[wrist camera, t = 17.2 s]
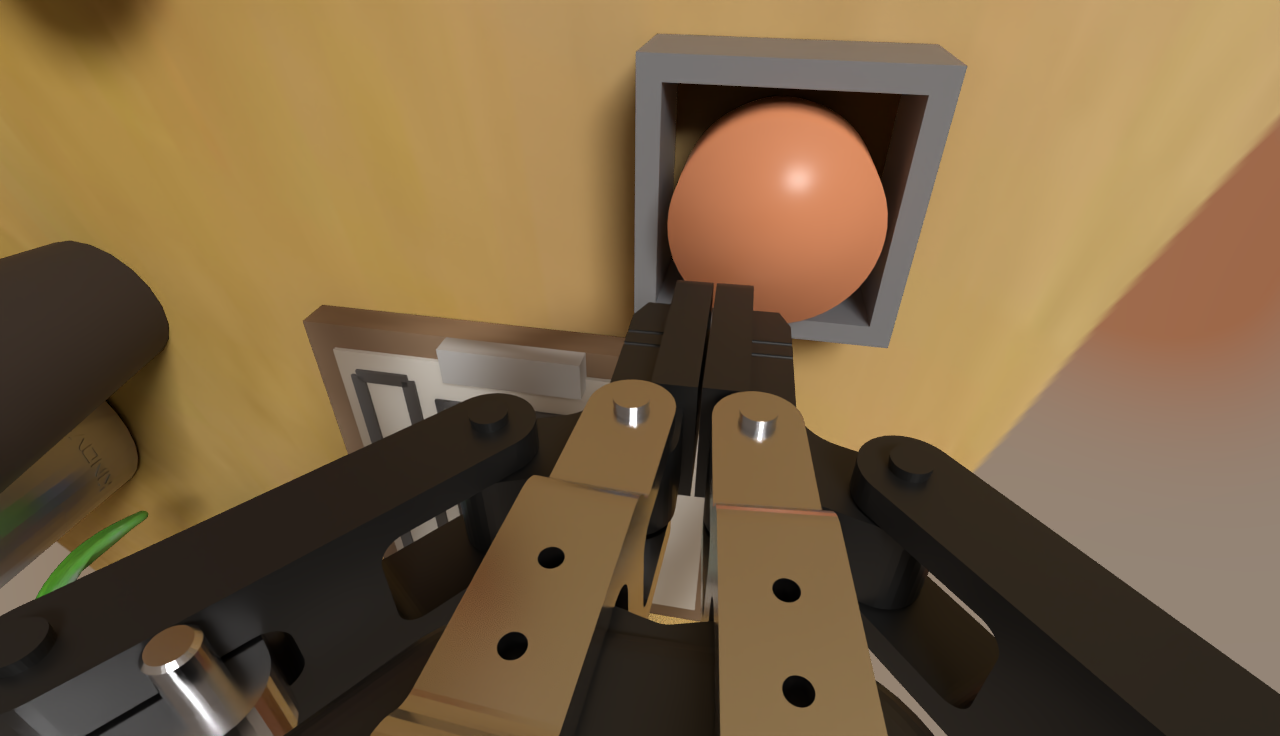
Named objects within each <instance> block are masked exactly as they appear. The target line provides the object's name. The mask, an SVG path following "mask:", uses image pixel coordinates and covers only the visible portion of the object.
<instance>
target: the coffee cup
mask: <svg viewBox="0 0 1280 736" xmlns="http://www.w3.org/2000/svg"><path fill="white" fill-rule="evenodd" d="M168 339H169V336H168V322H167V319H166V316H165V314H164V311H163V308H162V306H161V304H160V303H159V301H158V300H157V298H156V297H155V295H154V294H153V292H152V291H151V289H150V288H149V287H148V286H147V285H146V284H145V283H144V282H143V281H142V280H141V279H140V277H139V276H138V275H137V274H136V273H135V272H134V271H133V270H132V269H130V268H129V267H127V266H126V265H125V264H123V263H122V262H120V261H119V260H118V259H116V258H115V257H114V256H112V255H110V254H108V253H106V252H104V251H102V250H100V249H98V248H96V247H94V246H91V245H88V244H83V243H79V242H74V241H64V242H57V243H52V244H49V245H45V246H42V247H39V248H35V249H32V250H29V251H25V252H22V253H19V254H15V255H12V256H8V257H5V258H2V259H0V494H1V493H2V492H3V491H4V490H5V489H6V488H7V487H9V486H10V485H11V484H12V483H13V482H14V481H15V480H16V479H18V478H19V477H20V476H21V475H22V474H23V473H24V472H26V471H27V470H28V469H29V468H30V467H31V466H32V465H33V464H35V463H36V462H37V461H38V460H39V459H40V458H41V457H42V456H44V455H45V454H46V453H47V452H48V451H49V450H50V449H51V448H53V447H54V446H55V445H56V444H57V443H58V442H59V441H60V440H62V439H63V438H64V437H65V436H66V435H67V434H68V433H69V432H71V431H72V430H73V429H74V428H75V427H76V426H77V425H78V424H80V423H81V422H82V421H83V420H84V419H85V418H86V417H87V416H89V415H90V414H91V413H92V412H93V411H94V410H95V409H96V408H98V407H99V406H100V405H101V404H102V403H103V402H104V401H105V400H107V399H108V398H109V397H110V396H111V395H112V394H113V393H114V392H116V391H117V390H118V389H119V388H120V387H121V386H122V385H123V384H125V383H126V382H127V381H128V380H129V379H130V378H131V377H132V376H134V375H135V374H136V373H137V372H138V371H139V370H140V369H141V368H143V367H144V366H145V365H146V364H147V363H148V362H149V361H151V360H152V359H153V358H154V357H155V356H156V355H157V354H158V353H160V352H161V351H162V350H163V348H164V346H165V344H166V343H167V341H168Z"/></svg>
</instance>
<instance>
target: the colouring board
mask: <svg viewBox="0 0 1280 736" xmlns="http://www.w3.org/2000/svg"><path fill="white" fill-rule="evenodd" d="M303 324H304V326H305V329H306V332H307V335H308V338H309V341H310V344H311V347H312V350H313V353H314V356H315V359H316V361H317V364H318V367H319V370H320V373H321V376H322V379H323V382H324V385H325V388H326V391H327V394H328V397H329V399H330V402H331V405H332V408H333V411H334V414H335V417H336V420H337V423H338V426H339V429H340V432H341V434H342V437H343V440H344V443H345V446H346V449H347V452H348V454H350V453H352V452H355V451H357V450H359V449H361V448H363V447H365V446H368V445H370V444H372V443H374V442H376V441H378V440H381V439H383V438H385V437H387V436H389V435H391V434H394V433H396V432H398V431H400V430H402V429H404V428H407V427H409V426H411V425H413V424H415V423H417V422H420V421H422V420H424V419H426V418H428V417H430V416H433V415H435V414H437V413H439V412H441V411H443V410H445V409H448V408H450V407H452V406H454V405H456V404H458V403H461V402H463V401H465V400H467V399H470V398H472V397H476V396H479V395H484V394H491V393H505V394H511V395H515V396H518V397H521V398H523V399H525V400H526V401H528V402H529V403H530V404H531V405H532V407H533V408H534V410H535V413H536V419H538V418H546V417H555V416H563V415H569V414H573V413H577V412H580V411H583V410H584V408H585V406H586V404H587V402H588V400H589V398H590V397H591V395H592V394H593V393H594V392H595V391H596V390H597V389H599V388H600V387H602V386H604V385H606V384H609V383H610V381H611V378H612V375H613V373H614V370H615V367H616V364H617V361H618V358H619V355H620V352H621V349H622V347H623V344H624V341H625V338H624V337H614V336H605V335H596V334H587V333H577V332H568V331H559V330H549V329H540V328H531V327H522V326H512V325H503V324H494V323H484V322H475V321H466V320H457V319H447V318H438V317H429V316H419V315H410V314H401V313H392V312H382V311H373V310H364V309H354V308H345V307H336V306H327V305H322V306H320V307H319V308H318V309H317V310H315V311H314V312H313V313H312V314H311V315H309V316H308V317H307V318H306V319H305V320H303ZM698 440H699V436H698ZM697 453H698V443H697V451H696V458H695V466H694V473H693V481H692V488H691V496H684V495H677V502H676V508H675V512H674V516H673V517H672V519H671V529H670V535H669V539H668V543H667V547H666V551H665V554H664V558H663V562H662V566H661V570H660V574H659V578H658V581H657V585H656V589H655V593H654V597H653V601H652V605H651V608H650V612H649V613H653V614H658V615H664V616H670V617H676V618H682V619H688V620H694V621H700V622H701V536H702V524H703V512H704V501H705V498H702V497H694V494H695V481H696V467H697ZM460 515H462V510H461V505H460V503H459V504H457V505H455V506H454V507H452V508H450V509H448V510H447V511H445V512H443V513H441V514H439V515H438V516H436V517H434V518H432V519H430V520H429V521H427V522H425V523H423V524H422V525H420V526H418V527H416V528H414V529H413V530H411V531H409V532H407V533H406V534H404V535H402V536H400V537H399V538H398V539H396V540H395V541H394V542H393V543H392V544H391V545H390V546H389V547H388V549H387V550H386V552H385V553H384V556H383V557H384V559H385V558H387V557H388V556H390V555H392V554H394V553H395V552H397V551H399V550H401V549H402V548H404V547H406V546H408V545H409V544H411V543H413V542H414V541H416V540H418V539H420V538H421V537H423V536H425V535H427V534H428V533H430V532H432V531H434V530H435V529H437V528H439V527H441V526H442V525H444V524H446V523H448V522H449V521H451V520H453V519H455V518H456V517H458V516H460Z"/></svg>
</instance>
